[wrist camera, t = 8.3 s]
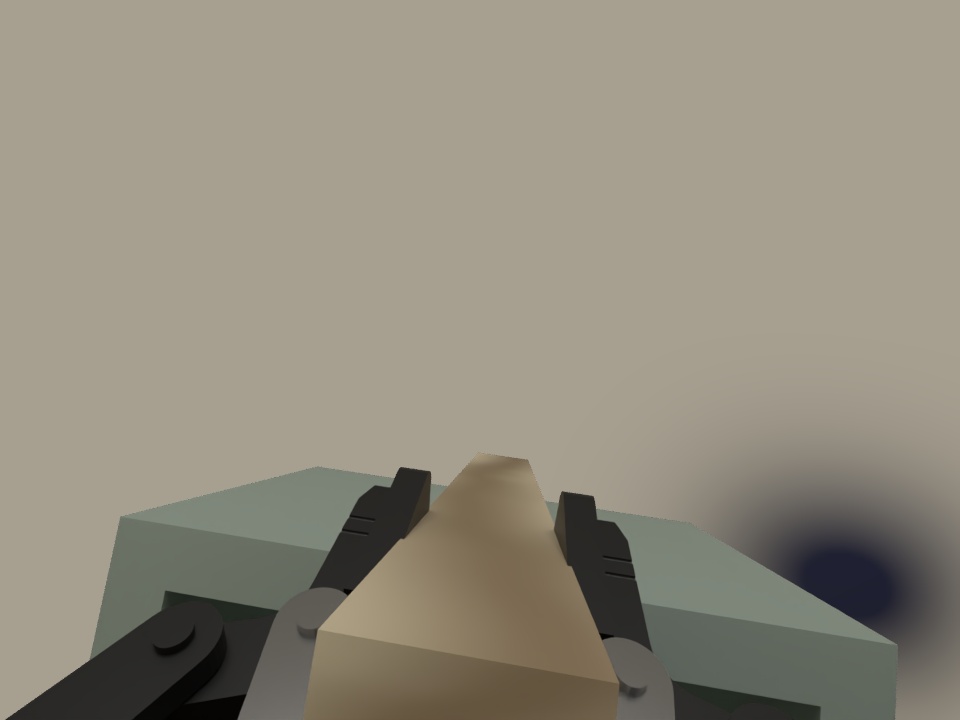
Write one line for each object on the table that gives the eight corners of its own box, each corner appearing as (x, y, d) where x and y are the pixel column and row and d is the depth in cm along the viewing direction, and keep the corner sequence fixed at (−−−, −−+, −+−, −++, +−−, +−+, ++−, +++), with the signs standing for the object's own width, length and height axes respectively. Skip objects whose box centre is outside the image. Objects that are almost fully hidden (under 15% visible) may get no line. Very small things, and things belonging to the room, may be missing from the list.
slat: (523, 497, 30) (527, 459, 31) (594, 947, 5) (620, 683, 5) (473, 490, 31) (478, 452, 31) (276, 876, 5) (317, 629, 5)
